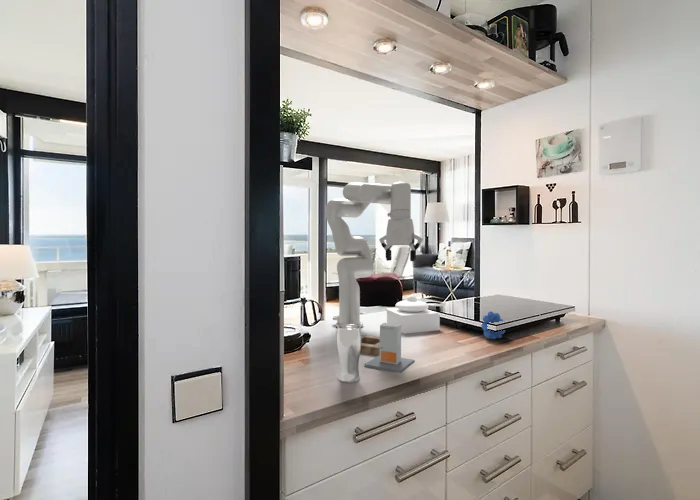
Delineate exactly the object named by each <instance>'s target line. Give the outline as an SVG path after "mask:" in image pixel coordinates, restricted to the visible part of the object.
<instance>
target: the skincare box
mask: <svg viewBox="0 0 700 500" xmlns="http://www.w3.org/2000/svg"><path fill="white" fill-rule="evenodd" d="M379 337H380V362H383V363H389V364H395V365H398V364H399V362H400V361H401V358H402V333H401V324H393V323H387V322H383V323H381V324H380V325H379Z"/></svg>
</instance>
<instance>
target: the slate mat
mask: <svg viewBox="0 0 700 500" xmlns="http://www.w3.org/2000/svg"><path fill="white" fill-rule="evenodd" d="M413 363H415V359H412V358H405V357H401V361H400V362H399V364H398V365H395V364H389V363H383V362H380V355H379V356H377V355H376V356H375V357H374V358H373V359H370V360H369V361H368V362H365V363H363V364H364V365H363V366H364V368H368V369H376V370H380V371H386V372H390V373H391V372H392V373H397V374H401V373H402V372H403V371H404V370H406V369H407V368H409V367H410V366H411V365H412V364H413Z"/></svg>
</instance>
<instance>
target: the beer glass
mask: <svg viewBox="0 0 700 500" xmlns="http://www.w3.org/2000/svg"><path fill="white" fill-rule="evenodd" d="M361 328H362V327H360V326H359V325H354V324H344V325H339V326H338V327H337V332H336V333H337V334H336V348H337V349H336V350H337V355H338V360H339V361H338V362H339V373H338V380H339V381H340V382H341V383H349V384H350V383H351V384H352V383H356V382H358V381H360V379H361V378H360V371H359V362H360V356H361V353H360V351H361V335H362V330H361Z"/></svg>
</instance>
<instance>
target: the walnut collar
mask: <svg viewBox="0 0 700 500" xmlns="http://www.w3.org/2000/svg"><path fill="white" fill-rule="evenodd" d="M360 354H365V355H372V356H376V357H377V356H379V355H380V336H377V335H376V336H374V335H368V334H361V351H360Z"/></svg>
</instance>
